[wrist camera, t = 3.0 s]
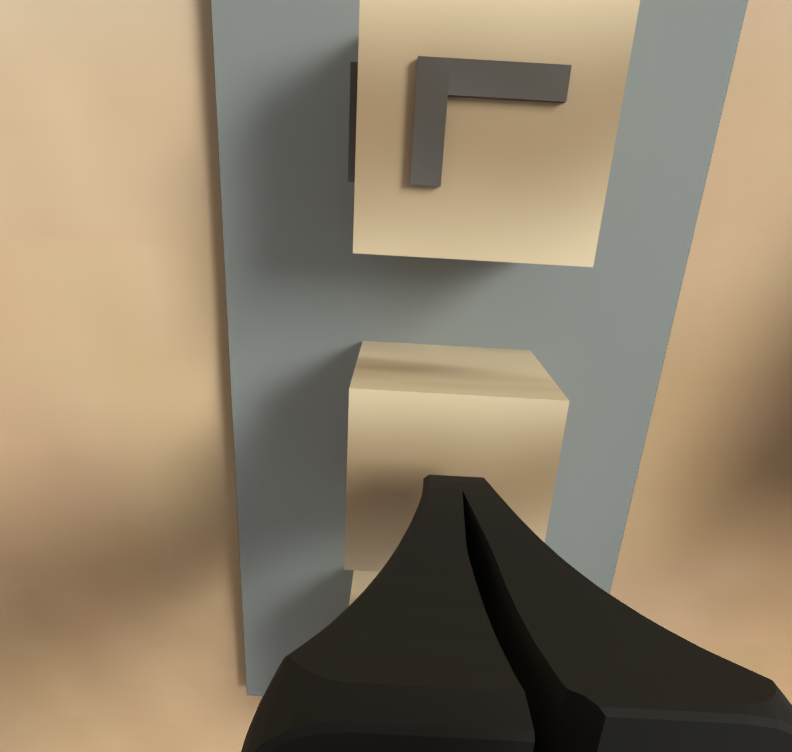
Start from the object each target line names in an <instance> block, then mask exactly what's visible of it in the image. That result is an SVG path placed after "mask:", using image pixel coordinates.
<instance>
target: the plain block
mask: <svg viewBox="0 0 792 752" xmlns="http://www.w3.org/2000/svg"><path fill="white" fill-rule="evenodd" d="M568 407H569V400H568V398H567V397H566V396H565V394H564V393H563V392H562V391H561V389H560V388H559V387H558V385H557V384H556V383H555V382H554V380H553V379H552V378H551V376H550V375H549V374H548V373H547V371H546V370H545V369H544V367H543V366H542V365H541V363H540V362H539V361H538V360H537V358H536V357H535V356H534V354H533V353H532V352H531V351H530V350H514V349H497V348H479V347H462V346H445V345H427V344H410V343H393V342H375V341H362V345H361V348H360V352H359V355H358V359H357V362H356V366H355V369H354V373H353V376H352V380H351V383H350V387H349V409H348V446H347V482H346V519H345V555H344V570H359V571H377V572H380V571H381V570H382V568H383V567H384V566H385V564H386V563H387V561H388V560H389V559H390V557H391V556H392V554H393V553H394V551H395V550H396V548H397V546H398V545H399V543H400V541H401V539H402V538H403V536H404V534H405V532H406V531H407V529H408V527H409V525H410V523H411V521H412V519H413V516H414V514H415V512H416V510H417V507H418V505H419V502H420V499H421V496H422V490H423V479H424V478H425V477H426V476H428V475H429V474H430V475H447V476H465V477H483V478H485V479H486V481H487V482H488V483H489V484H490V485H491V486H492V487H493V489H494V490H495V491H496V492H497V493H498V494H499V495H500V497H501V498H502V499H503V500H504V501H505V502H506V503H507V505H508V506H509V507H510V508H511V509H512V510H513V511H514V512H515V513H516V515H517V516H518V517H519V518H520V519H521V520H522V521H523V522H524V523H525V524H526V525H527V526H528V527H529V528H530V529H531V530H532V531H533V532H534V533H535V534H536V535H537V536H538V537H539V538H540V539H541V540H542V541H543V542H545V537H546V532H547V526H548V520H549V515H550V509H551V503H552V498H553V492H554V486H555V481H556V475H557V469H558V464H559V458H560V452H561V447H562V441H563V435H564V430H565V424H566V418H567V413H568Z"/></svg>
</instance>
